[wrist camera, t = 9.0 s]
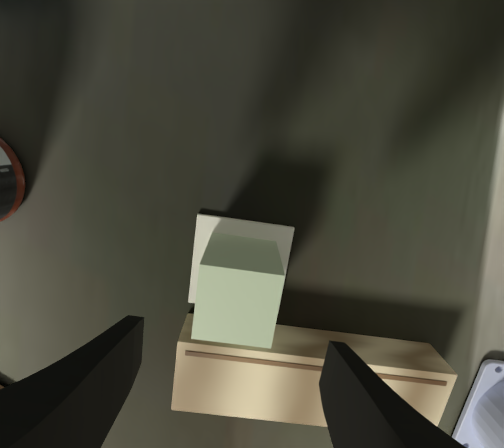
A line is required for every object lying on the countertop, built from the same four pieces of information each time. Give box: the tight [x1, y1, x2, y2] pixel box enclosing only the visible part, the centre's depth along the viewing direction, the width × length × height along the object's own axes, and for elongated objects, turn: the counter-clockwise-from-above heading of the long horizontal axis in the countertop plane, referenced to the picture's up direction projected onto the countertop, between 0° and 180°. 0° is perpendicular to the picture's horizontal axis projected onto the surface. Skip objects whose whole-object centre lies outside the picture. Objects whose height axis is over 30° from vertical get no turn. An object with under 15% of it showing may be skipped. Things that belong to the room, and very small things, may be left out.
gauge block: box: [191, 232, 285, 349], centre depth 17 cm, size 4×4×5 cm
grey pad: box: [188, 214, 295, 312], centre depth 20 cm, size 6×6×1 cm
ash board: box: [171, 313, 457, 427], centre depth 20 cm, size 17×5×3 cm, turn 82°
